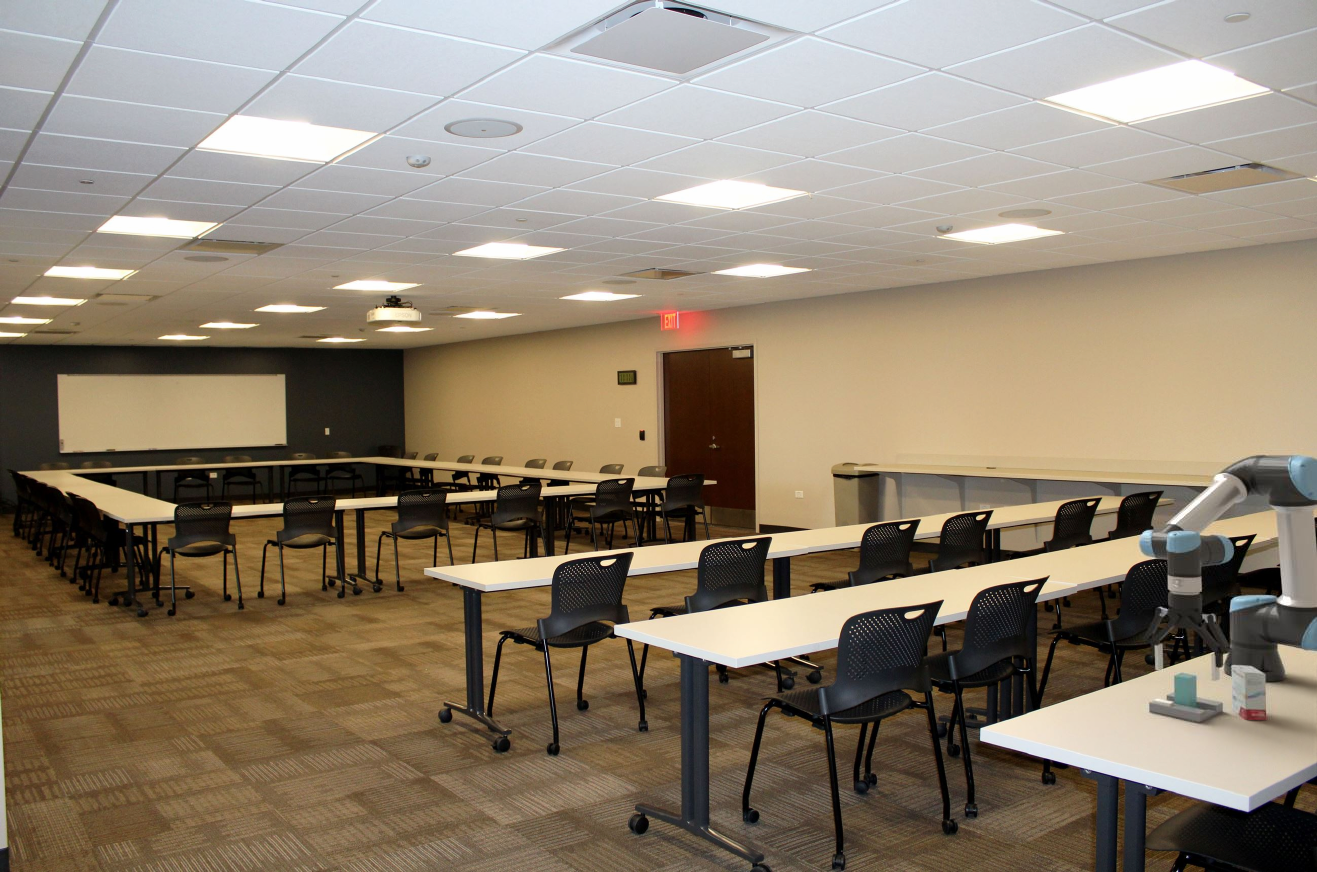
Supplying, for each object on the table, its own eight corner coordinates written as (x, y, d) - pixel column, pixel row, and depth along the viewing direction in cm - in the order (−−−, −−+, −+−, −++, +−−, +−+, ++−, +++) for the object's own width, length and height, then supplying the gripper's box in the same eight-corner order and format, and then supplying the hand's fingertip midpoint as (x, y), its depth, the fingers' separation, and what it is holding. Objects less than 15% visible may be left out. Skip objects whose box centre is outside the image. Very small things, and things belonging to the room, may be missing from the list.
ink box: (1267, 721, 229) (1266, 673, 229) (1245, 720, 230) (1245, 672, 230) (1252, 710, 238) (1252, 664, 238) (1231, 709, 239) (1231, 664, 239)
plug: (1182, 707, 240) (1181, 672, 240) (1196, 710, 237) (1196, 675, 237) (1174, 710, 237) (1174, 675, 237) (1189, 713, 234) (1188, 678, 234)
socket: (1173, 701, 246) (1173, 689, 246) (1222, 711, 237) (1222, 699, 237) (1149, 711, 238) (1149, 699, 238) (1199, 723, 228) (1199, 710, 228)
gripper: (1128, 588, 244) (1130, 667, 245) (1232, 600, 225) (1234, 687, 225) (1141, 584, 249) (1143, 662, 250) (1244, 596, 229) (1246, 681, 230)
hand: (1186, 674), depth 237 cm, fingers open, 13 cm apart
